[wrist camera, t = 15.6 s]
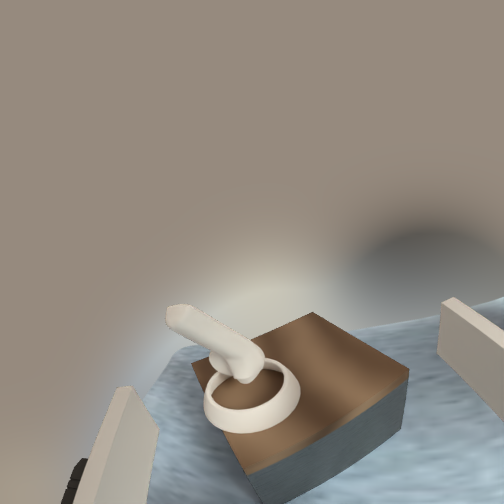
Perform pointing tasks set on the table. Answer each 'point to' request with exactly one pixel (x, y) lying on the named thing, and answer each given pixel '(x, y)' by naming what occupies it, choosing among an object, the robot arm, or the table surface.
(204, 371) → the block
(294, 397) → the white ring with handle
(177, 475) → the table surface
